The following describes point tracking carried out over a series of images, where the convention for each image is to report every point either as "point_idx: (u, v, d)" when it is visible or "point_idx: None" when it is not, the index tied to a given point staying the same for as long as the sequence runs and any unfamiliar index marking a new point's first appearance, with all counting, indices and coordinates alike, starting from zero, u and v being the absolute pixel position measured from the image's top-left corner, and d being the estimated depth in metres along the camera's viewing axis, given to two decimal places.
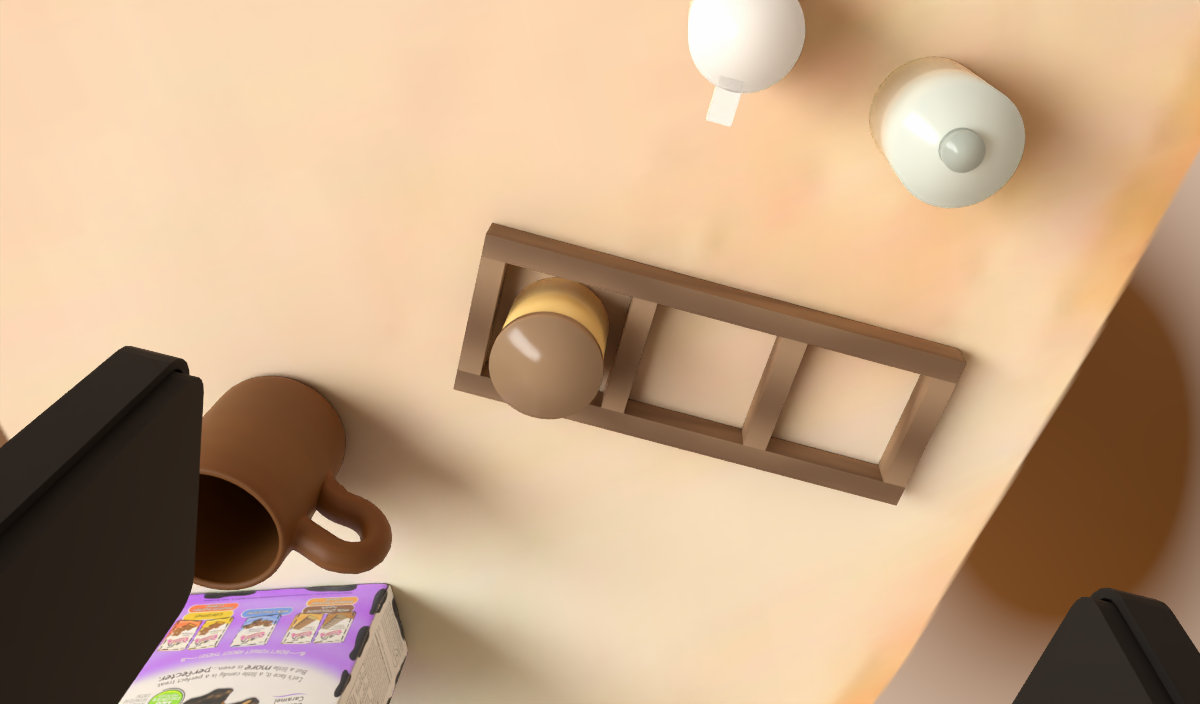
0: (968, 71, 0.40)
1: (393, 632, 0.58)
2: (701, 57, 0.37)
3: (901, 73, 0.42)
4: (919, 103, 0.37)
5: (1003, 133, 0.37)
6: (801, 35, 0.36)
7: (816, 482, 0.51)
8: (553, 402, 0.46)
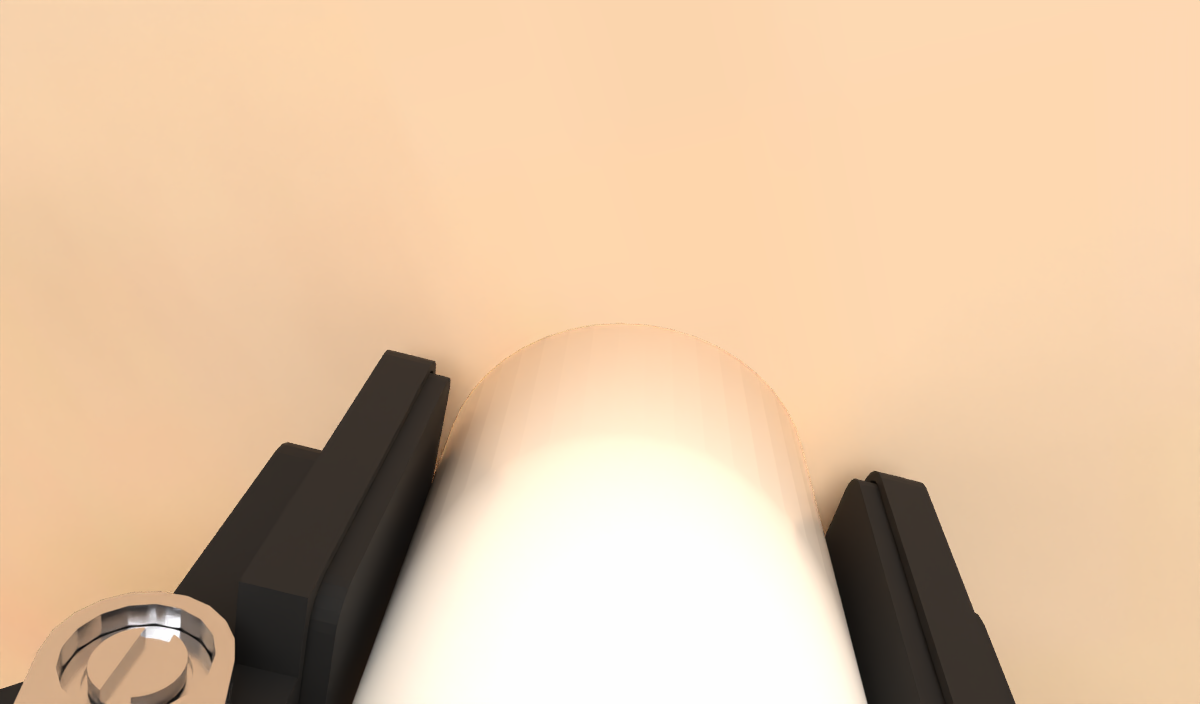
0: None
1: None
2: None
3: None
4: None
5: None
6: None
7: None
8: None
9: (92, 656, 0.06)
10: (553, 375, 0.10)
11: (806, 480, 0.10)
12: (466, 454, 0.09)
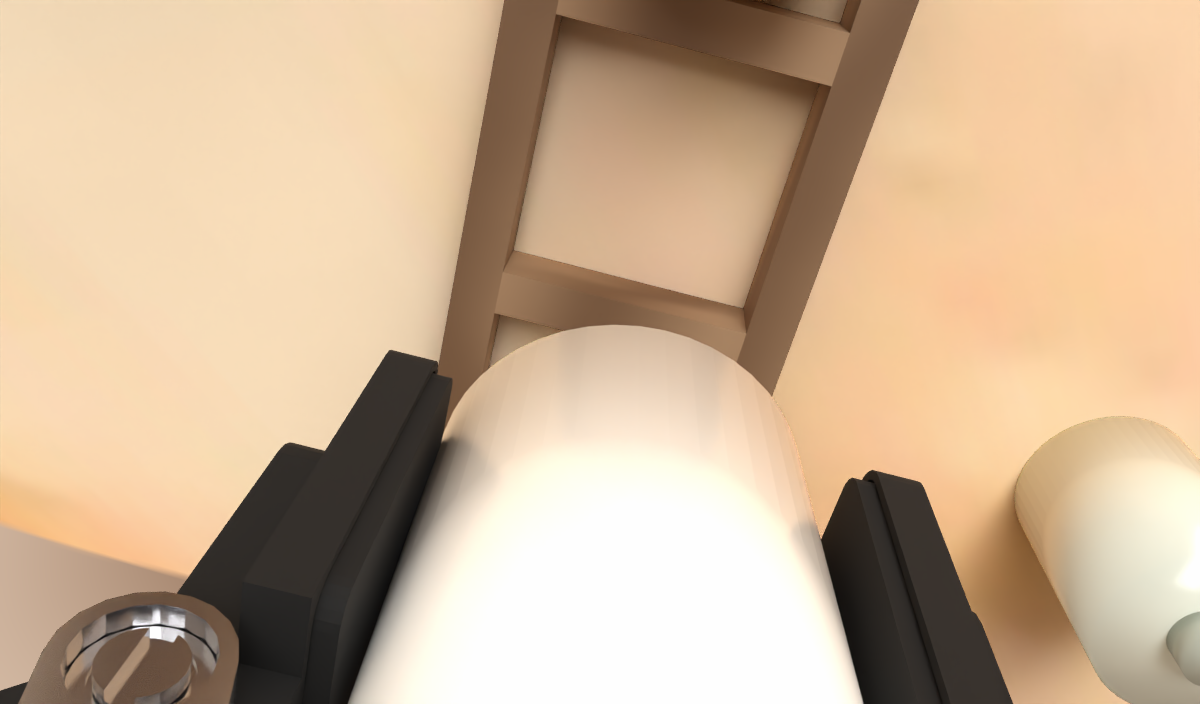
0: None
1: None
2: None
3: None
4: None
5: None
6: None
7: None
8: None
9: (97, 656, 0.06)
10: (546, 376, 0.10)
11: (801, 482, 0.10)
12: (459, 458, 0.09)
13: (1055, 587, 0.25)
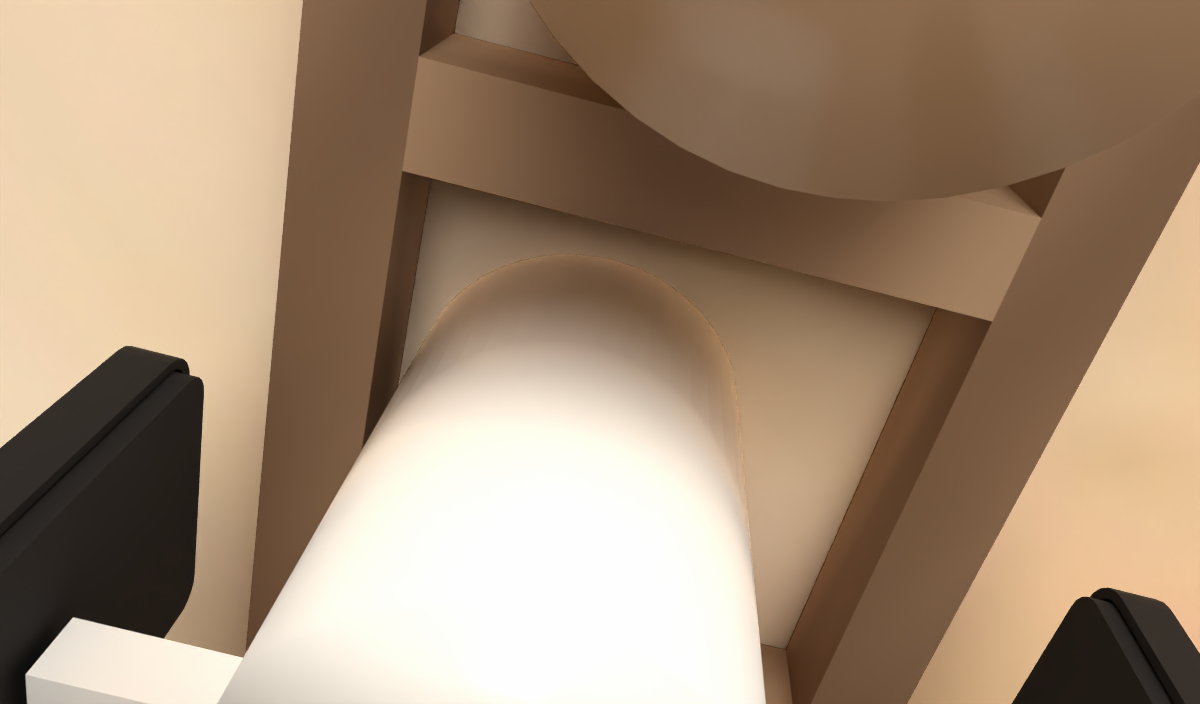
0: None
1: None
2: (343, 659, 0.07)
3: None
4: None
5: None
6: None
7: None
8: None
9: None
10: (502, 292, 0.11)
11: (725, 390, 0.11)
12: (423, 357, 0.11)
13: None
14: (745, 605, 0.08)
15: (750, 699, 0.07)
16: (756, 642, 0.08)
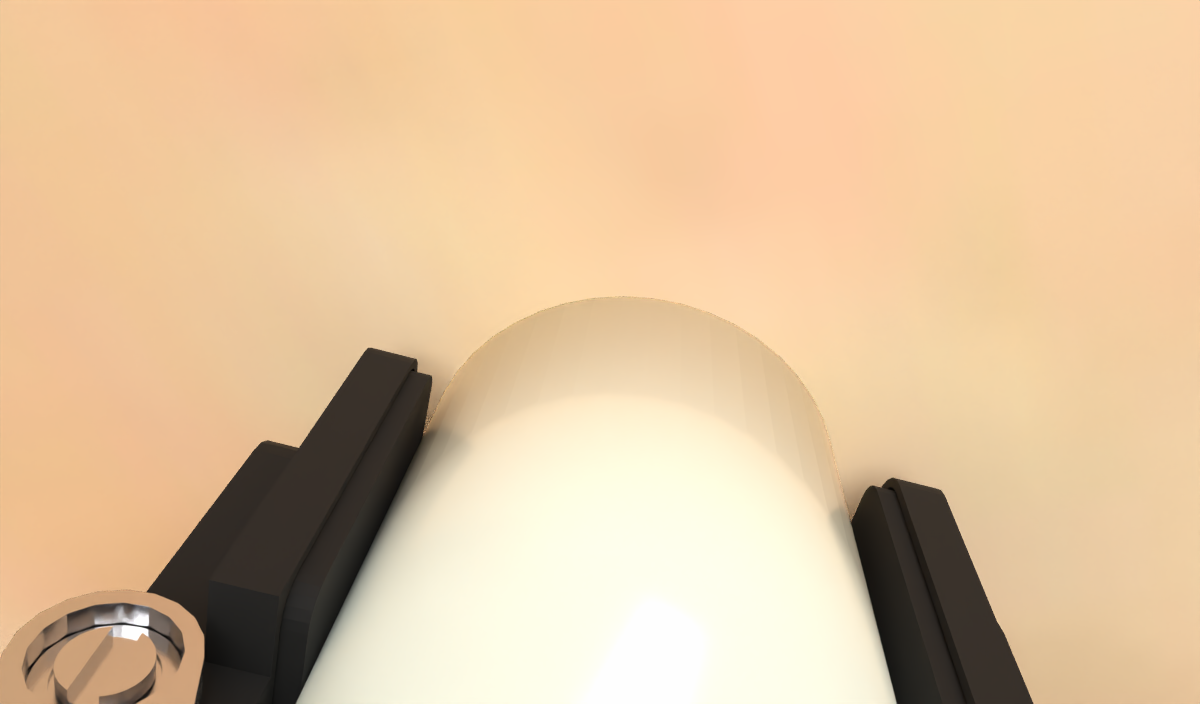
0: None
1: None
2: None
3: (806, 419, 0.10)
4: None
5: None
6: None
7: None
8: None
9: (58, 656, 0.06)
10: None
11: None
12: None
13: None
14: None
15: None
16: None
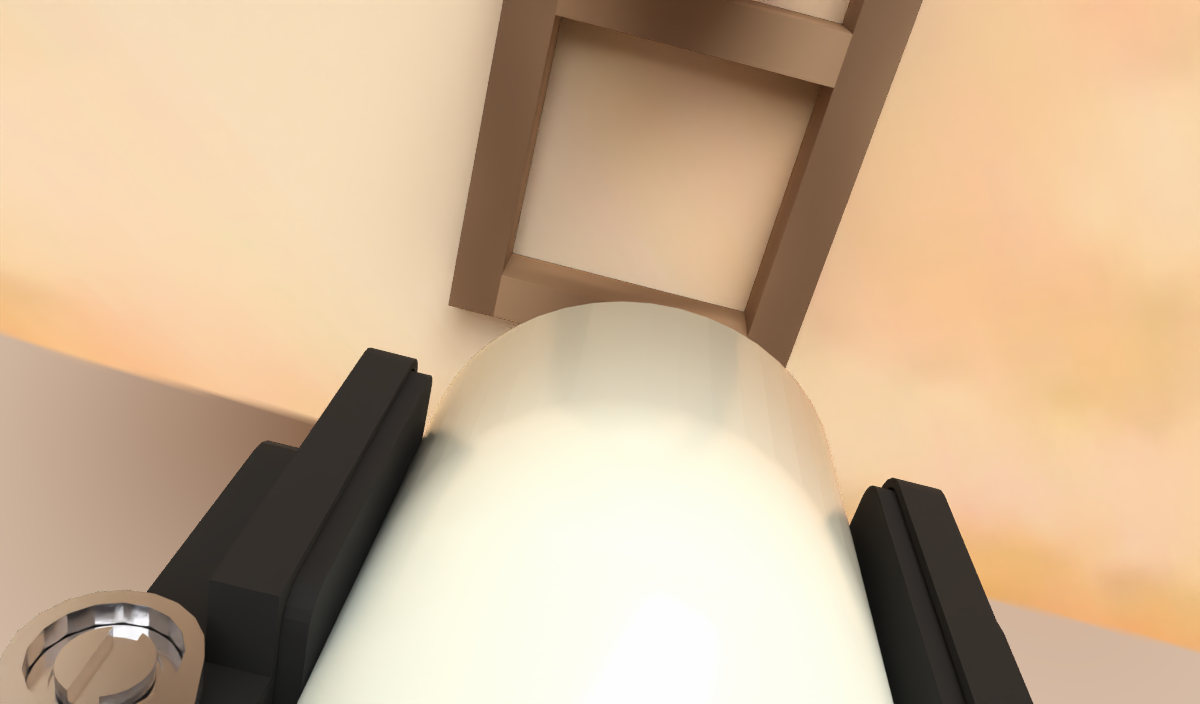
0: None
1: None
2: None
3: (806, 425, 0.10)
4: None
5: None
6: None
7: (483, 140, 0.23)
8: None
9: (59, 656, 0.06)
10: None
11: None
12: None
13: None
14: None
15: None
16: None
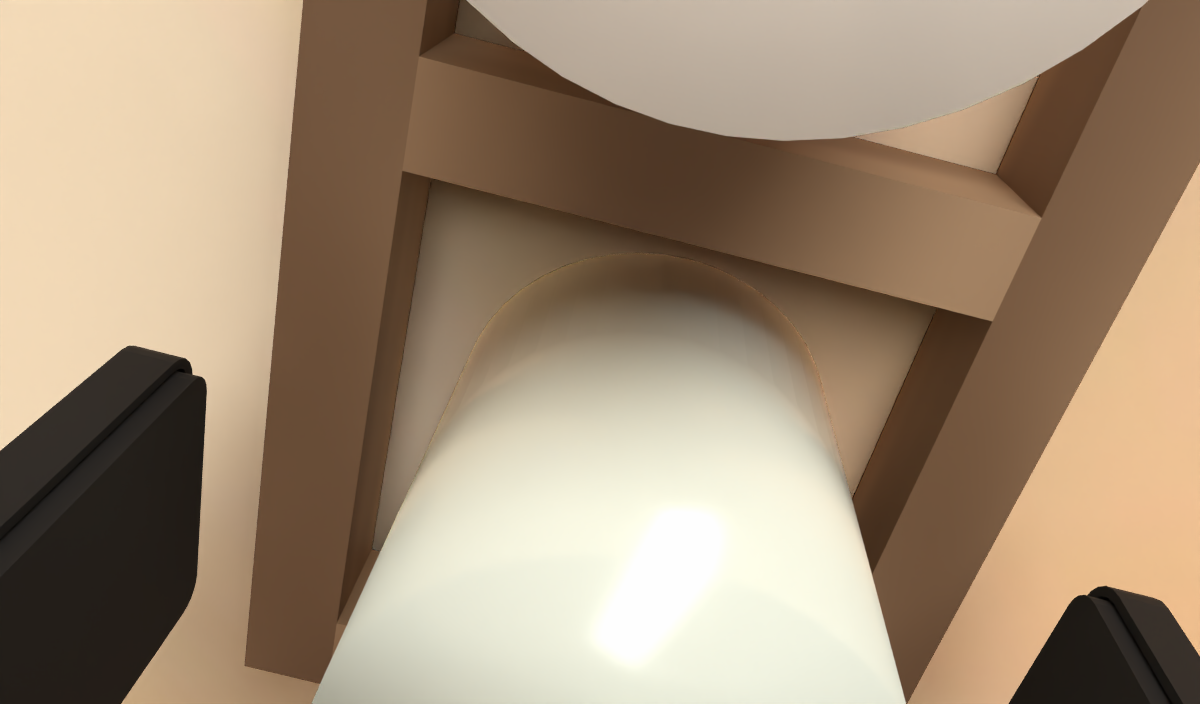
0: None
1: None
2: None
3: (800, 359, 0.11)
4: (840, 643, 0.07)
5: None
6: (775, 113, 0.05)
7: (277, 400, 0.11)
8: None
9: None
10: None
11: None
12: None
13: None
14: None
15: None
16: None
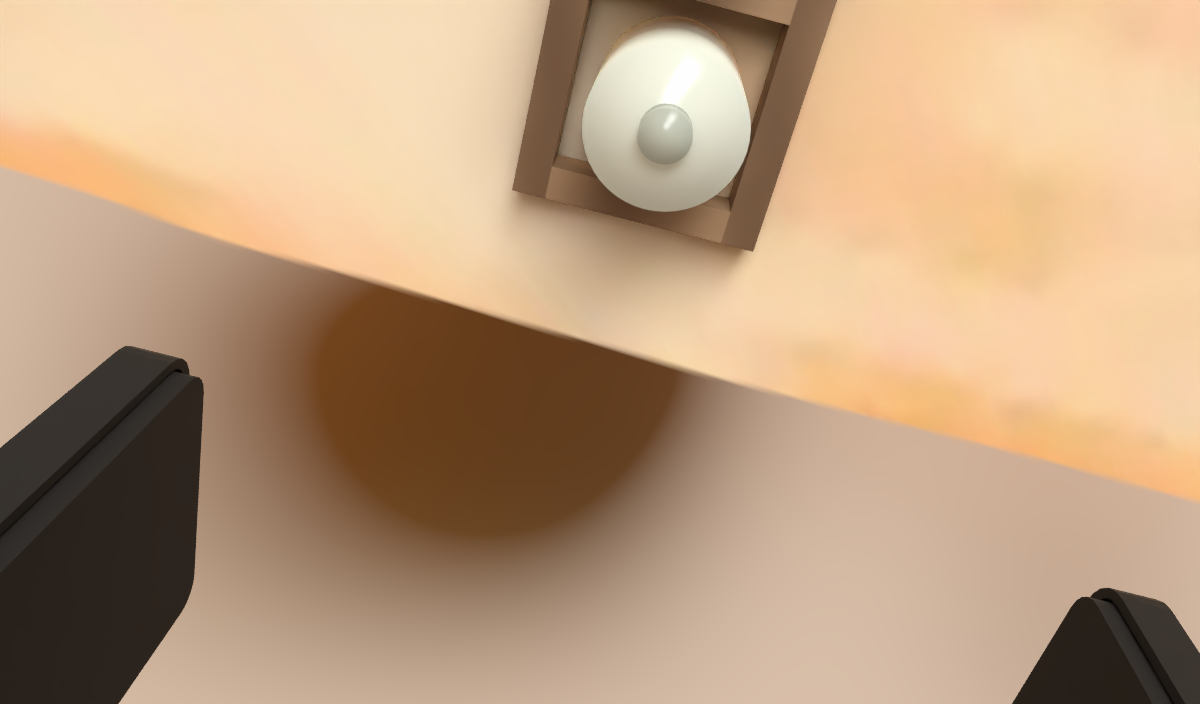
0: None
1: None
2: None
3: (727, 49, 0.32)
4: (726, 68, 0.27)
5: (685, 183, 0.29)
6: None
7: (541, 65, 0.32)
8: None
9: None
10: None
11: None
12: None
13: None
14: None
15: None
16: None
